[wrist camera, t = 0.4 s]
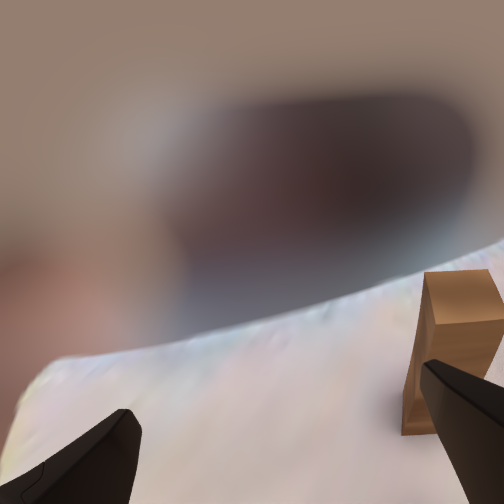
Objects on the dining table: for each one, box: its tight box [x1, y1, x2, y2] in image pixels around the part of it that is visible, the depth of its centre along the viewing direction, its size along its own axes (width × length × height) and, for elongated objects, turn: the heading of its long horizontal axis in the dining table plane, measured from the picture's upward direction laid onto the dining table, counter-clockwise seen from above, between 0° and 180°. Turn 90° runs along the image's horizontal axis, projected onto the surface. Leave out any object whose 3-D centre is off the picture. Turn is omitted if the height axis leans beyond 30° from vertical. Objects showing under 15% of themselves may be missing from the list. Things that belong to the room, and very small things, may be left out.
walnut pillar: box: [401, 269, 504, 436], centre depth 17 cm, size 5×5×13 cm
